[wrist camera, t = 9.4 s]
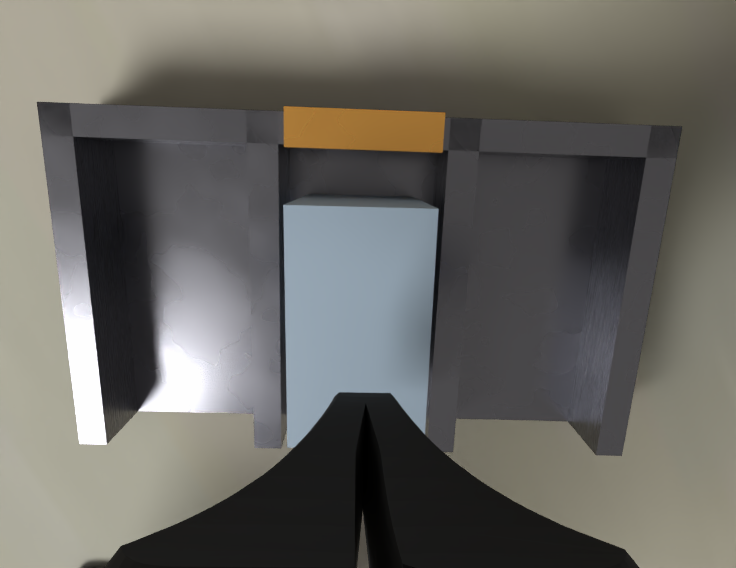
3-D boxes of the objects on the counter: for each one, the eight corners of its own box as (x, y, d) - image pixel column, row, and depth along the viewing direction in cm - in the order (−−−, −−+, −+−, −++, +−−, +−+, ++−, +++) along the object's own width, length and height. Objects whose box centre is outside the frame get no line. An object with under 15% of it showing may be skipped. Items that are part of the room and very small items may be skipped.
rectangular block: (405, 366, 19) (423, 449, 14) (309, 364, 19) (287, 447, 14) (413, 196, 18) (438, 208, 12) (308, 194, 18) (283, 204, 12)
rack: (585, 410, 21) (634, 462, 17) (120, 398, 21) (66, 449, 17) (629, 132, 18) (699, 122, 15) (91, 112, 18) (19, 96, 14)
